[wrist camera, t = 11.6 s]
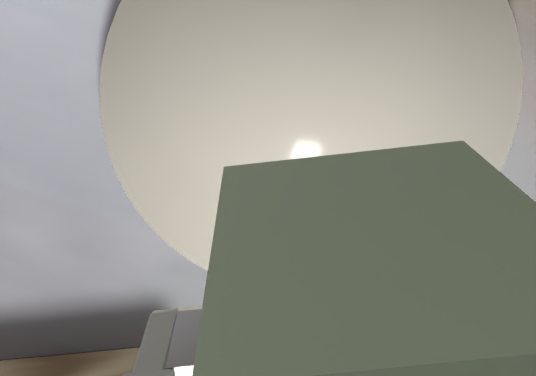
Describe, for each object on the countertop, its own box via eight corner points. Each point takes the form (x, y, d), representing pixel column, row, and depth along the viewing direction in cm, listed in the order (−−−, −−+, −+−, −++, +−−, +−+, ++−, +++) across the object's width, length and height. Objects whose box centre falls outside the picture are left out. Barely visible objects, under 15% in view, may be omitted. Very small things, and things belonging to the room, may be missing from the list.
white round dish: (533, -148, 19) (547, -153, 18) (496, 264, 26) (504, 275, 25) (55, -88, 19) (45, -90, 18) (151, 298, 27) (147, 309, 26)
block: (462, 140, 10) (693, 337, 5) (452, 331, 12) (607, 620, 7) (224, 166, 11) (190, 387, 5) (252, 351, 13) (250, 651, 7)
